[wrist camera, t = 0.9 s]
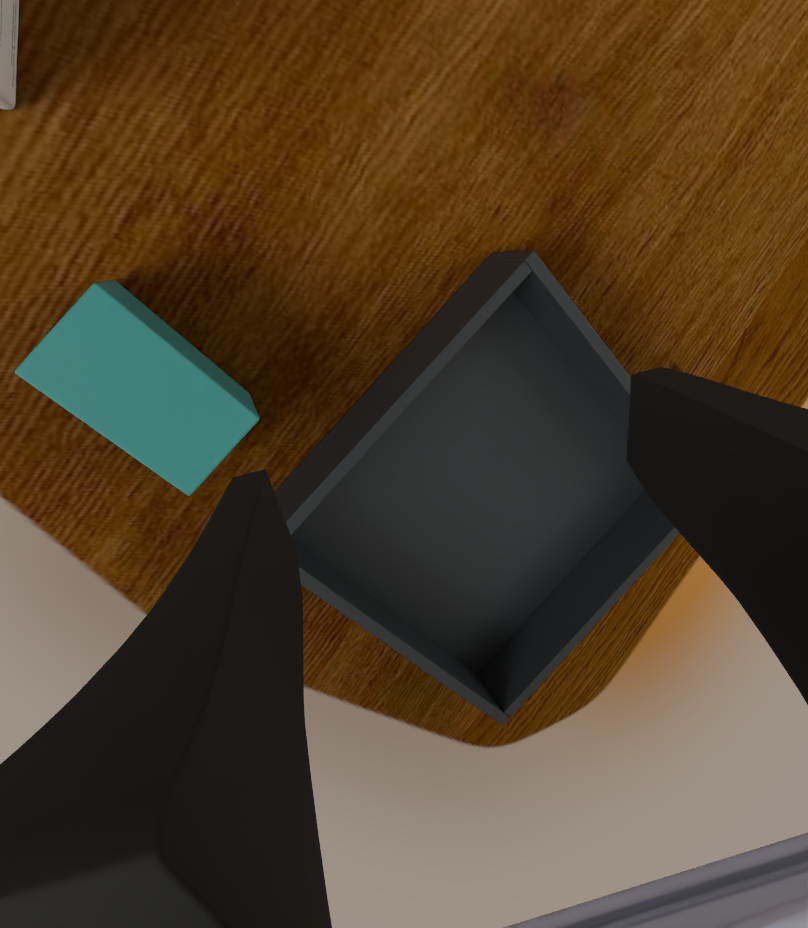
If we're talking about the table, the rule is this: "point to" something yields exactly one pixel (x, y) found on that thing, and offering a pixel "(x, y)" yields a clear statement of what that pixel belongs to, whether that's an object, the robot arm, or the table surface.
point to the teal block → (141, 386)
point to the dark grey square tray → (481, 491)
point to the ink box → (8, 52)
